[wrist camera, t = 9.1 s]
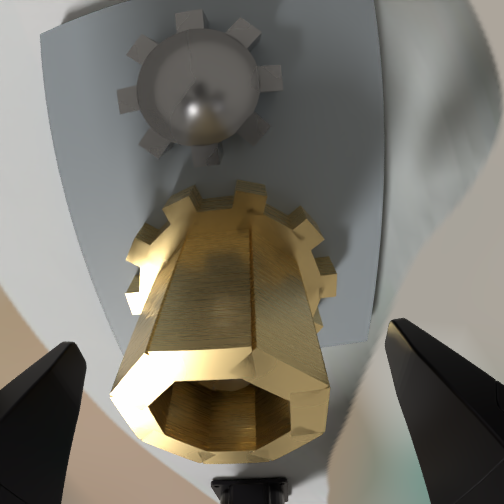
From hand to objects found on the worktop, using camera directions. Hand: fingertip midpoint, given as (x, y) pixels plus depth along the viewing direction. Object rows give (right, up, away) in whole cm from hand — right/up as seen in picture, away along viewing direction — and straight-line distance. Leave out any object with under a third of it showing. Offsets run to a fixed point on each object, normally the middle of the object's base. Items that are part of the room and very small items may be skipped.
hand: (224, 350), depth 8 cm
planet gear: (0, +2, +3) cm, 4 cm away
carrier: (0, +5, +3) cm, 6 cm away
